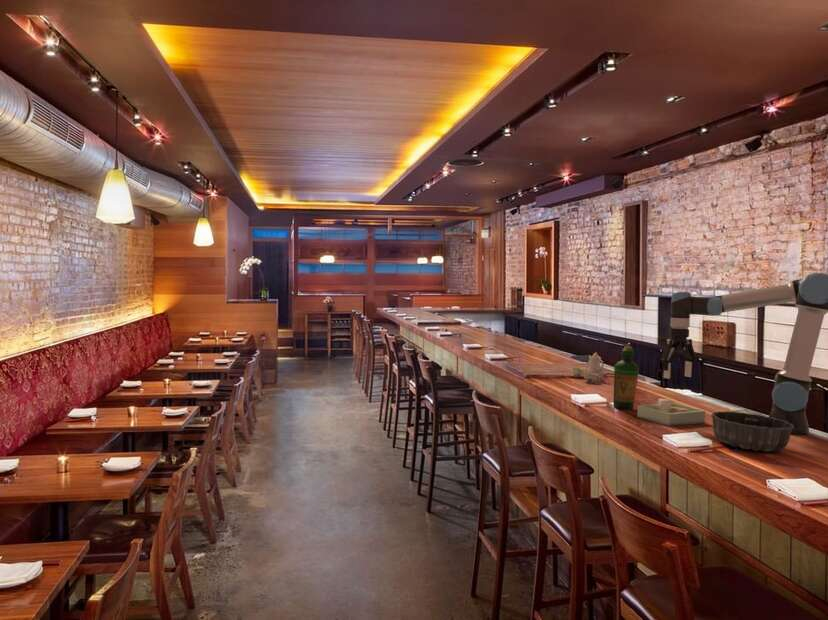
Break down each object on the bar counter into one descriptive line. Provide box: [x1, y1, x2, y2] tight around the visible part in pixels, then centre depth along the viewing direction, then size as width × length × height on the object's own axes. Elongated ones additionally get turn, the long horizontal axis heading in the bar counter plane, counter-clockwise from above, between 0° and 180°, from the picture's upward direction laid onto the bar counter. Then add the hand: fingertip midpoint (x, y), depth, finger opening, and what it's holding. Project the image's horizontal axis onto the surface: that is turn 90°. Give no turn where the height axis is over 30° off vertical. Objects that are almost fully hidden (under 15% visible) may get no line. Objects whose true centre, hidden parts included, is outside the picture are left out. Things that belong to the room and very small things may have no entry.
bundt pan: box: [711, 411, 794, 453], centre depth 221 cm, size 26×26×10 cm
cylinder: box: [657, 398, 672, 413], centre depth 260 cm, size 5×5×7 cm
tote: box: [636, 402, 706, 427], centre depth 257 cm, size 16×22×5 cm
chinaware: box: [569, 351, 605, 384], centre depth 352 cm, size 28×17×17 cm, turn 15°
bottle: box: [613, 346, 640, 411], centre depth 275 cm, size 11×11×28 cm
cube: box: [669, 407, 688, 413], centre depth 254 cm, size 5×5×5 cm
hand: (677, 377), depth 261 cm, fingers open, 13 cm apart
